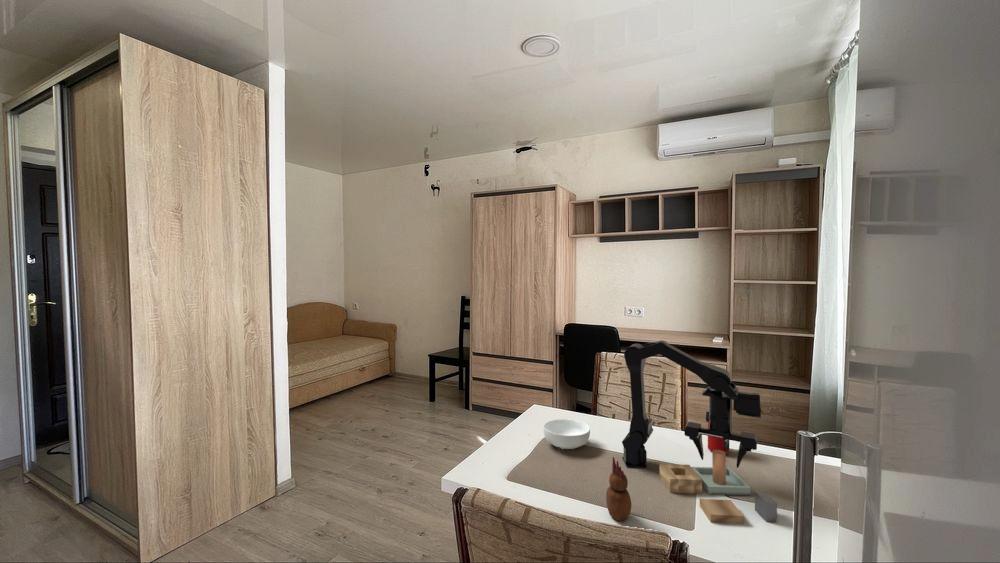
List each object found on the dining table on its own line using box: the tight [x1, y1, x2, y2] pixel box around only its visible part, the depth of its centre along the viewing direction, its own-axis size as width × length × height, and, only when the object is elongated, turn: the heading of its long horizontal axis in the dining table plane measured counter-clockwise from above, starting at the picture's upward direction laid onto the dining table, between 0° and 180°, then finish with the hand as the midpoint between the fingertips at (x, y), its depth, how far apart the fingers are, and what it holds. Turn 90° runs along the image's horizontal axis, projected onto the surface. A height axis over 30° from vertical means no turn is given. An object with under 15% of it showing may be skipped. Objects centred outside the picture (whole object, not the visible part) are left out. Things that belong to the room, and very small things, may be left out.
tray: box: [691, 466, 752, 496], centre depth 120 cm, size 12×12×2 cm
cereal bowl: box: [543, 418, 591, 450], centre depth 147 cm, size 17×17×7 cm
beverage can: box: [707, 422, 730, 455], centre depth 141 cm, size 7×7×12 cm
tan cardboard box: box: [699, 498, 745, 525], centre depth 105 cm, size 8×7×2 cm
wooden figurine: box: [605, 456, 632, 522], centre depth 104 cm, size 7×6×15 cm
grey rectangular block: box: [754, 491, 778, 523], centre depth 104 cm, size 3×5×5 cm, turn 176°
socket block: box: [659, 463, 703, 494], centre depth 119 cm, size 9×9×4 cm
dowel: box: [711, 450, 727, 485], centre depth 120 cm, size 4×4×9 cm
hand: (719, 463), depth 120 cm, fingers open, 9 cm apart
